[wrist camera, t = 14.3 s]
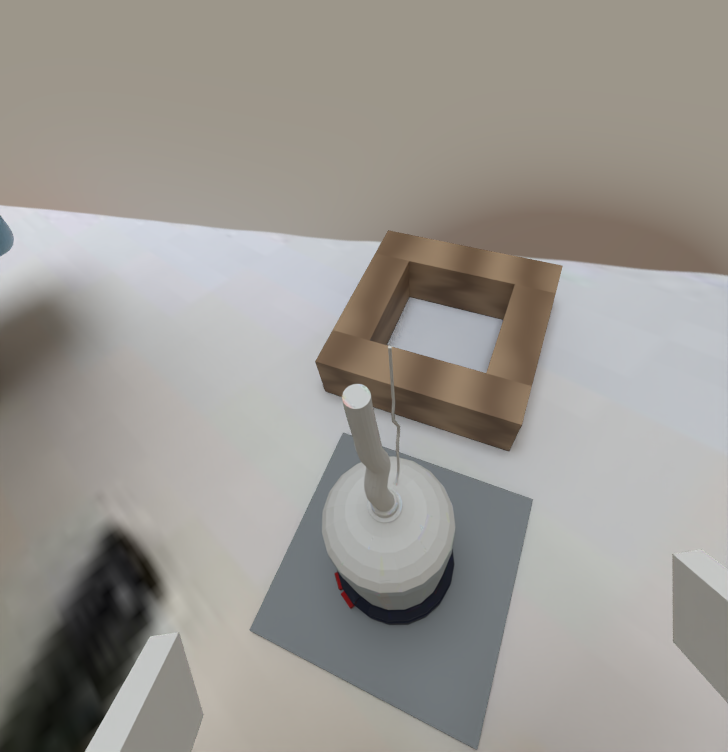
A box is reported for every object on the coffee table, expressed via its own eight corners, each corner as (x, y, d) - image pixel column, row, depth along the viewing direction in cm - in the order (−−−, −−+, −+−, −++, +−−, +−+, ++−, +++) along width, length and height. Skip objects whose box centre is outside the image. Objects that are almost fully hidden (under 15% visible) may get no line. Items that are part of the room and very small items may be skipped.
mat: (252, 630, 31) (249, 630, 30) (343, 435, 38) (343, 432, 38) (475, 748, 26) (477, 750, 26) (530, 501, 34) (532, 499, 33)
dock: (325, 391, 41) (315, 361, 37) (390, 266, 49) (388, 230, 44) (508, 451, 36) (521, 425, 32) (548, 302, 44) (562, 265, 40)
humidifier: (319, 591, 31) (127, 472, 10) (369, 488, 35) (304, 242, 14) (426, 650, 29) (467, 655, 8) (467, 533, 32) (572, 316, 11)
